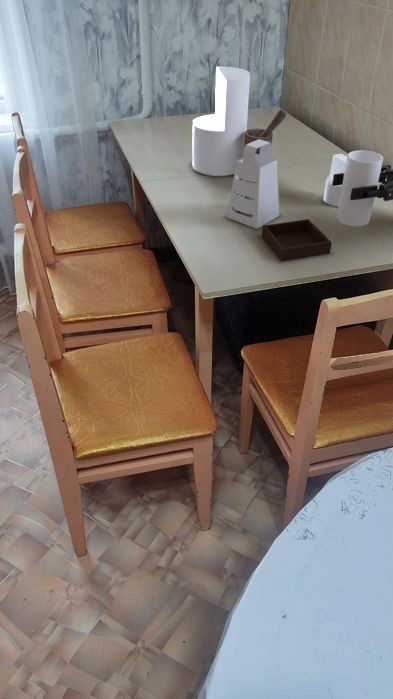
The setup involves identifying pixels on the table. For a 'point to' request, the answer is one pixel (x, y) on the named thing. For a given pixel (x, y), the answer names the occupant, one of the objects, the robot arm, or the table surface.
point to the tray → (296, 240)
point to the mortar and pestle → (264, 131)
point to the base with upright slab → (332, 191)
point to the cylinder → (222, 125)
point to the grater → (255, 186)
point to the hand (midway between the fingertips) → (342, 187)
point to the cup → (358, 174)
